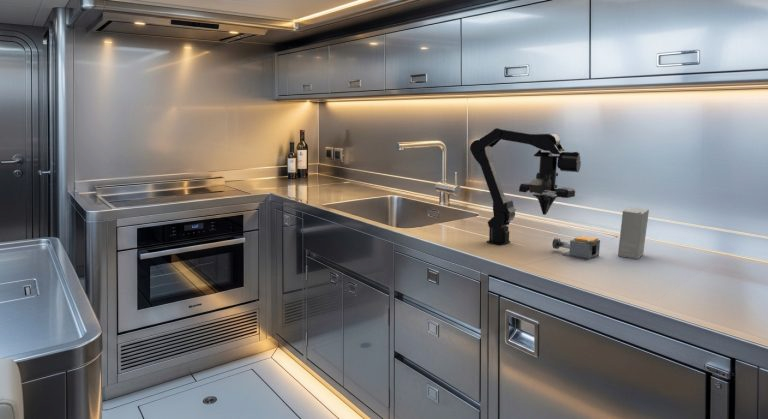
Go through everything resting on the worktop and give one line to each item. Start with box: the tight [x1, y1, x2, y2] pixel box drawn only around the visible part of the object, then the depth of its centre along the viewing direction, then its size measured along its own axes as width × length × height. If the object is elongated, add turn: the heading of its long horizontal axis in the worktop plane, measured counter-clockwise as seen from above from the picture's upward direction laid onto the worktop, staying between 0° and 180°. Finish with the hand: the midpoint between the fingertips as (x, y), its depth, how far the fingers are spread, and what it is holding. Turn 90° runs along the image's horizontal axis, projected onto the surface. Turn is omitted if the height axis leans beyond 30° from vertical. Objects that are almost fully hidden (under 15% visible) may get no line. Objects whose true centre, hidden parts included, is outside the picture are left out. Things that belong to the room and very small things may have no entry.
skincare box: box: [617, 206, 650, 260], centre depth 178 cm, size 8×7×16 cm
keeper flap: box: [573, 235, 599, 243], centre depth 178 cm, size 6×4×1 cm
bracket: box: [561, 236, 601, 261], centre depth 179 cm, size 9×8×6 cm
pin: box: [551, 237, 570, 250], centre depth 182 cm, size 11×4×4 cm, turn 44°
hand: (544, 214), depth 187 cm, fingers closed
